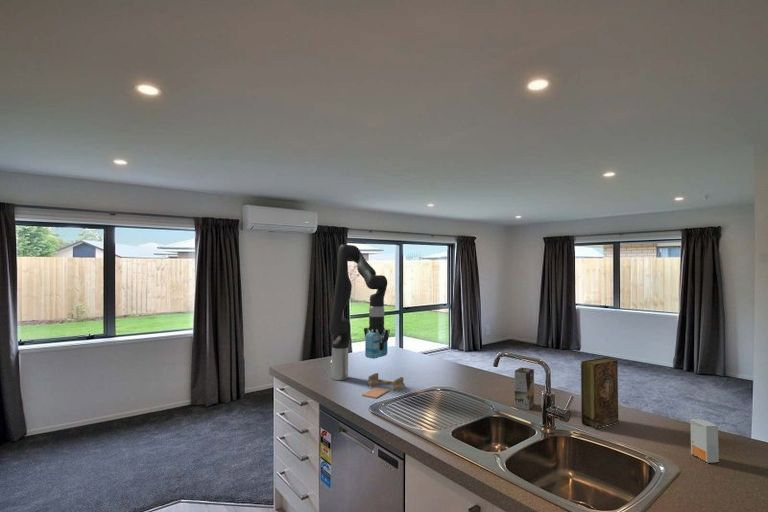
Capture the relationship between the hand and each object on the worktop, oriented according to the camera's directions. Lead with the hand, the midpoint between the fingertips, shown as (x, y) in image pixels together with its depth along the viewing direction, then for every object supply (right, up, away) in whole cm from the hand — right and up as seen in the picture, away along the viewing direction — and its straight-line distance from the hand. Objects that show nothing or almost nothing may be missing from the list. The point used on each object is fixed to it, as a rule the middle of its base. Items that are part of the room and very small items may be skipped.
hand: (376, 349), depth 190 cm
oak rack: (+5, -22, +10) cm, 24 cm away
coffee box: (+67, -21, -17) cm, 73 cm away
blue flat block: (0, -4, 0) cm, 4 cm away
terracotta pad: (0, -21, -1) cm, 21 cm away
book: (+91, -21, -37) cm, 100 cm away
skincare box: (+108, -20, -66) cm, 128 cm away
